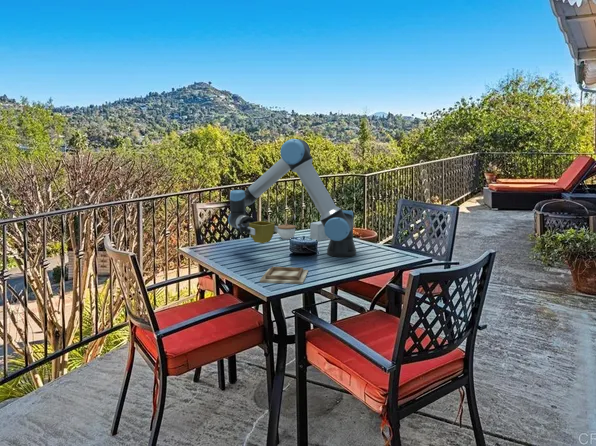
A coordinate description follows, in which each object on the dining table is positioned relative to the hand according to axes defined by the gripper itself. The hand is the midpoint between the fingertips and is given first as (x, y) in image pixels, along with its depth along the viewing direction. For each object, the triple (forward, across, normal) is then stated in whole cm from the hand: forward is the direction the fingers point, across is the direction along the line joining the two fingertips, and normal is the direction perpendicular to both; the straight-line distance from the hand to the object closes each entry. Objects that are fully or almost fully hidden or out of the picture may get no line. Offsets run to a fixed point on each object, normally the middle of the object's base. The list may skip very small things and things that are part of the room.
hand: (266, 230), depth 202 cm
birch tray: (+16, -1, -18) cm, 24 cm away
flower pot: (-4, 0, -6) cm, 7 cm away
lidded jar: (-55, -41, -18) cm, 71 cm away
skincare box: (-42, -57, -18) cm, 73 cm away
